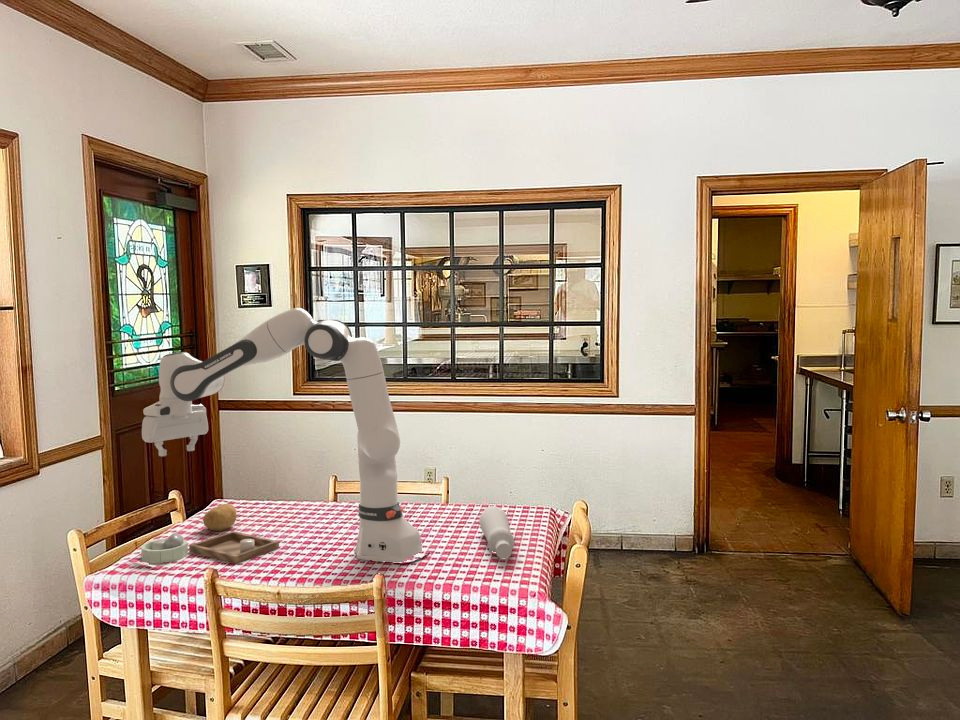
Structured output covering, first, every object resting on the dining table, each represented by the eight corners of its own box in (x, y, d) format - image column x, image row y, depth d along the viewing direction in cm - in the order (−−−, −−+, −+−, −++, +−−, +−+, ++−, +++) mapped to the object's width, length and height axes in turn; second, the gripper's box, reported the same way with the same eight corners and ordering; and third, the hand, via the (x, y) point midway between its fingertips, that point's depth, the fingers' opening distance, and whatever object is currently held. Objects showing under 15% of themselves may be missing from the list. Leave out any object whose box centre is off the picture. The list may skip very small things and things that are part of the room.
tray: (279, 549, 211) (278, 541, 211) (235, 565, 197) (235, 556, 197) (233, 539, 221) (233, 531, 221) (189, 553, 207) (189, 545, 207)
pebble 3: (257, 552, 207) (257, 540, 207) (246, 556, 203) (246, 543, 203) (248, 550, 209) (247, 538, 209) (237, 553, 205) (236, 541, 205)
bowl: (196, 555, 206) (195, 542, 206) (159, 567, 195) (158, 553, 195) (170, 548, 212) (169, 535, 212) (132, 560, 202) (132, 546, 201)
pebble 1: (171, 553, 205) (170, 540, 205) (159, 557, 202) (158, 544, 201) (162, 551, 207) (161, 539, 207) (150, 555, 203) (149, 543, 203)
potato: (244, 523, 238) (243, 500, 238) (226, 536, 224) (226, 511, 224) (216, 523, 239) (215, 500, 238) (196, 535, 225) (196, 511, 224)
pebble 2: (178, 550, 205) (185, 543, 204) (166, 552, 201) (174, 545, 200) (173, 538, 206) (180, 532, 205) (161, 540, 203) (168, 533, 202)
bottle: (473, 522, 228) (481, 556, 198) (488, 499, 228) (499, 529, 198) (496, 537, 229) (508, 572, 199) (511, 513, 229) (526, 546, 199)
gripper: (199, 402, 219) (199, 447, 220) (137, 409, 202) (139, 457, 203) (212, 404, 216) (213, 448, 217) (151, 411, 199) (152, 460, 199)
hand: (177, 453), depth 210 cm, fingers open, 8 cm apart
